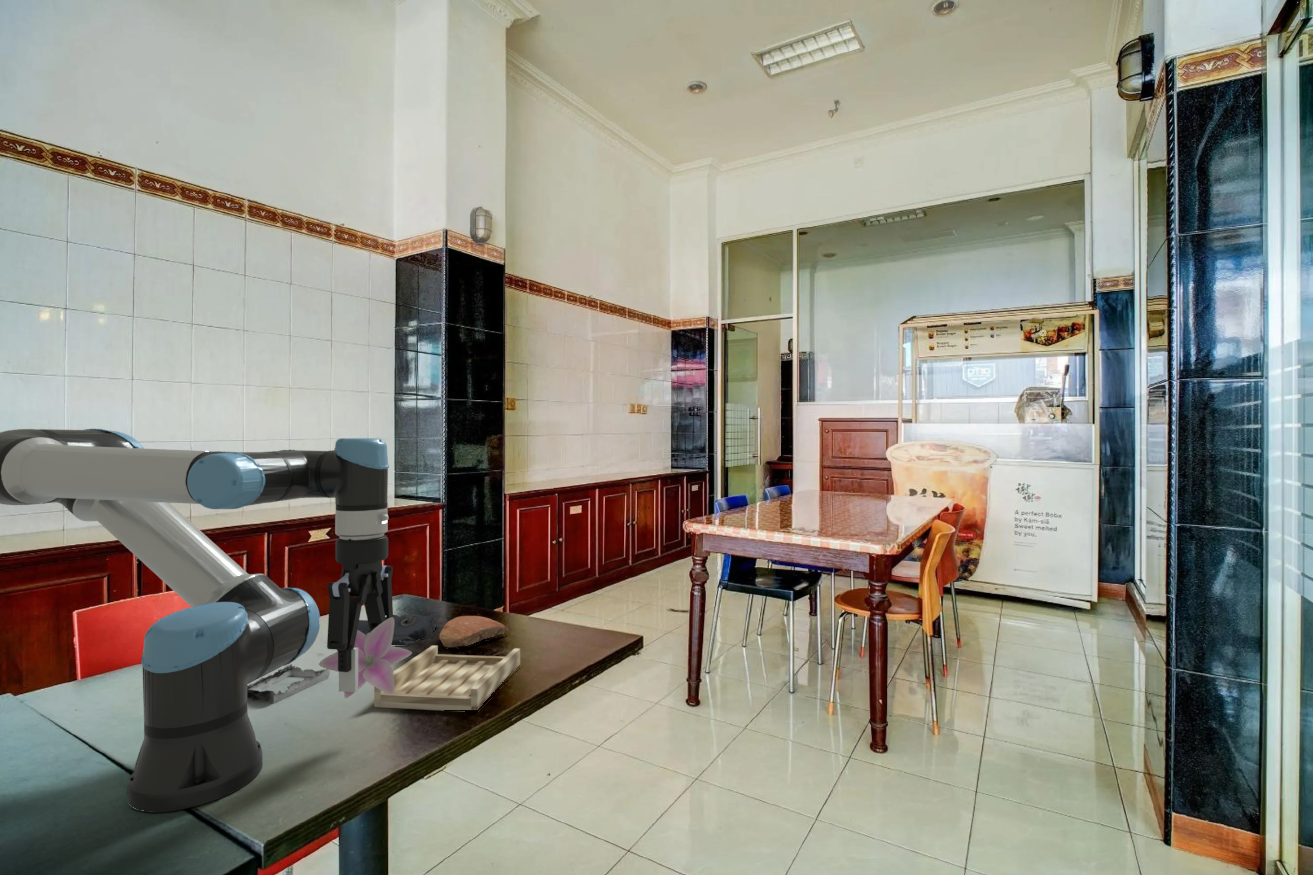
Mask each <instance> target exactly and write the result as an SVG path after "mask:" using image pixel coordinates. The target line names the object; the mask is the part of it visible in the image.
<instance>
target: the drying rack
mask: <svg viewBox="0 0 1313 875" xmlns="http://www.w3.org/2000/svg"><path fill="white" fill-rule="evenodd" d="M438 648H439V646H438V645H430V646H429V647H428V648H426V649H425V650H424V651H422V652H420V653H419V654H418V655H416V656H414V657H413V658H411V659H410V660H409V661H407V662H405V663H404V664H402V665H401V666H399V667H398V668H396V669H395V670H394V671H393V670H392V671H393V678H394V692H393V694H388V693H385V692H383V691H381V690H380V689H378V688H376V687H374V686H373V690H374V691H373V696H374V698H373V699H374V700H373V701H374V702H373V703H374V704H373V705H374V708H385V709H410V710H426V711H427V710H428V711H444V710H478V709H479V708H480V707H481V706H482V705H483V703H484V702H485V701H486V700H487V699H488V698H489V697H490V696H491V694H492V693H493V692H495V690H496V689H497V688H498V687H499V686H500V685H501V684H502V682H504V680H505V679H506V678H507V677H508V676H509V675H511V674H512V673H513V671H515V670H516V668H517V667H518V666H519V665H520V666H521V648H518V647H517V648H513V649H512V650H511V651H510V652H509V653H507V655H505V656H494V655H493V656H492V655H470V654H469V655H467V654H445V653H444V654H442V653H441V654H440V653H439V651H438V650H439V649H438ZM438 653H439V654H438Z"/></svg>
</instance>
